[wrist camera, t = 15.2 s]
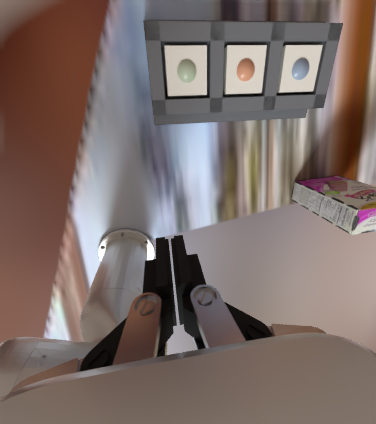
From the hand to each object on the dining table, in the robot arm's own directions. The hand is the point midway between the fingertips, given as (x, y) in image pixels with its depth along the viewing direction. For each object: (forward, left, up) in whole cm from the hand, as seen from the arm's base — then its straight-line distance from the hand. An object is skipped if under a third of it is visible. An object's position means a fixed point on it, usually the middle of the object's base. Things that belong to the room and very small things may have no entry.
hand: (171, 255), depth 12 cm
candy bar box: (-8, -35, -29) cm, 46 cm away
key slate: (+14, -23, -27) cm, 38 cm away
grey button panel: (+14, -14, -29) cm, 35 cm away
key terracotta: (+14, -14, -27) cm, 34 cm away
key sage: (+14, -5, -27) cm, 31 cm away
